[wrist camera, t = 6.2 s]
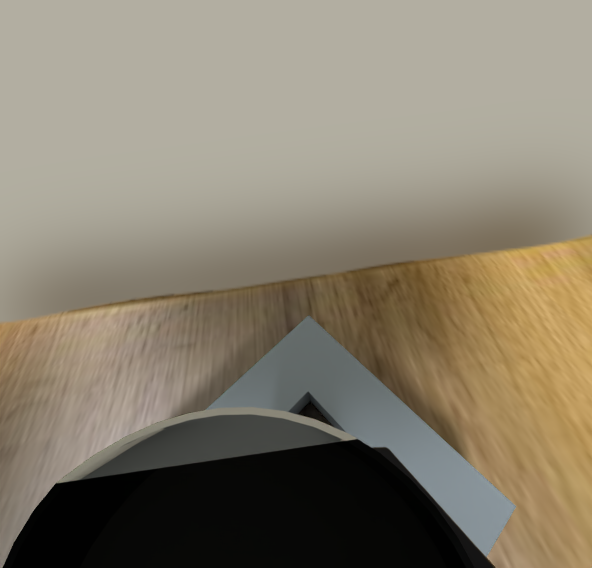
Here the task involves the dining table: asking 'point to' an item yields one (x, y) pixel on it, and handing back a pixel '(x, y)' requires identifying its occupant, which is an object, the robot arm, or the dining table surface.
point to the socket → (370, 423)
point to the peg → (237, 502)
